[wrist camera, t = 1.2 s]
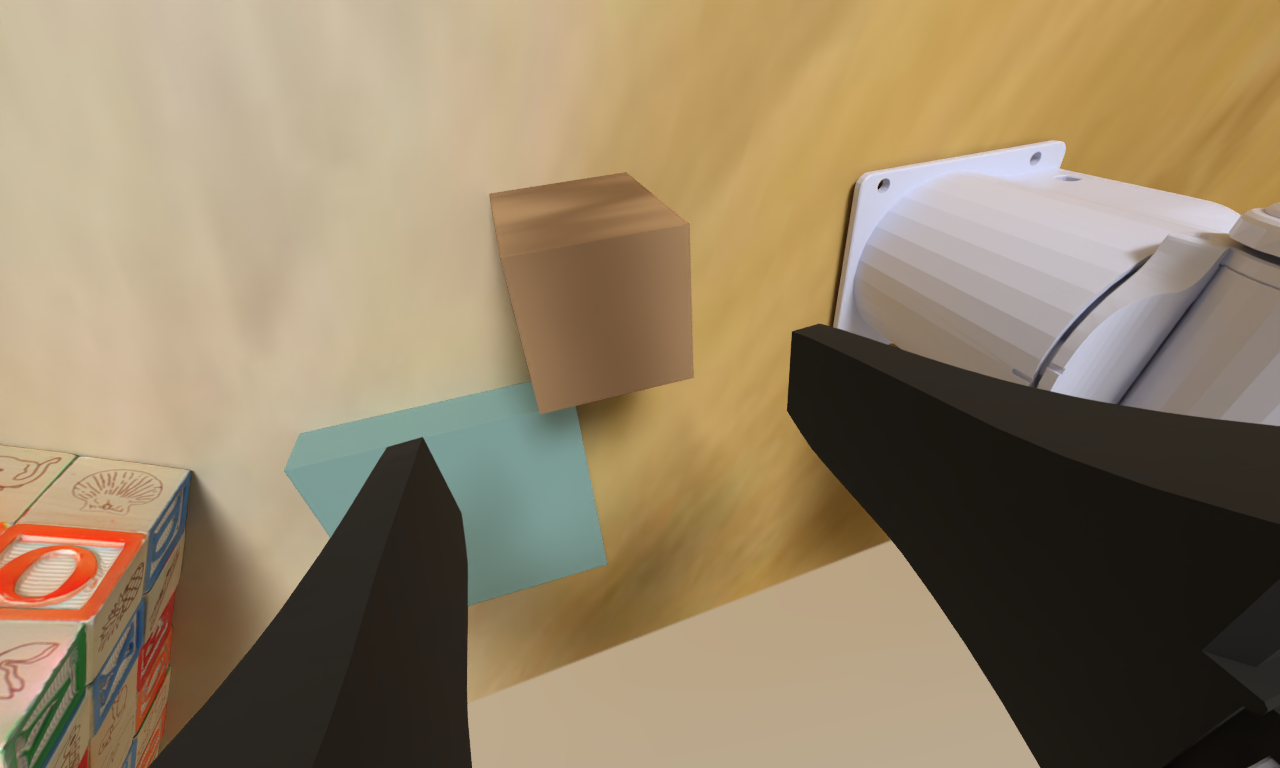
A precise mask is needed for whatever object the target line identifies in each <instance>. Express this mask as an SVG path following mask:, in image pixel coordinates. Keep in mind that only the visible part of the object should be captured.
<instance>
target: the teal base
mask: <svg viewBox="0 0 1280 768" xmlns="http://www.w3.org/2000/svg"><path fill="white" fill-rule="evenodd" d="M420 437H423V438H424V440H425V442H426V444H427V446H428V448H429V450H430V452H431V454H432V456H433V458H434V460H435V462H436V464H437V466H438V467H439V469H440V471H441V473H442V475H443V477H444V479H445V481H446V483H447V485H448V487H449V489H450V491H451V493H452V495H453V497H454V499H455V501H456V503H457V505H458V507H459V509H460V511H461V513H462V519H463V526H464V534H465V542H466V551H467V560H468V606H470V605H473V604H476V603H480V602H483V601H486V600H490V599H493V598H496V597H500V596H503V595H506V594H510V593H513V592H517V591H520V590H523V589H527V588H530V587H533V586H537V585H540V584H543V583H547V582H550V581H553V580H557V579H560V578H563V577H567V576H570V575H574V574H577V573H580V572H584V571H587V570H590V569H594V568H597V567H600V566H604V565H607V559H606V554H605V549H604V544H603V539H602V534H601V529H600V524H599V519H598V514H597V510H596V505H595V500H594V495H593V490H592V485H591V480H590V475H589V470H588V465H587V460H586V455H585V450H584V445H583V440H582V435H581V430H580V425H579V420H578V415H577V410H576V406H573V407H569V408H565V409H560V410H556V411H552V412H548V413H544V414H540V413H539V409H538V405H537V401H536V397H535V393H534V389H533V385H532V381H529V382H525V383H521V384H516V385H512V386H507V387H503V388H499V389H494V390H490V391H485V392H481V393H477V394H472V395H468V396H463V397H459V398H455V399H450V400H446V401H441V402H437V403H433V404H428V405H424V406H419V407H415V408H411V409H406V410H402V411H397V412H393V413H389V414H384V415H380V416H375V417H371V418H367V419H362V420H358V421H353V422H349V423H345V424H340V425H336V426H331V427H327V428H323V429H318V430H314V431H309V432H305V433H301V434H299V437H298V439H297V441H296V444H295V446H294V448H293V451H292V453H291V456H290V458H289V460H288V463H287V465H286V467H285V470H284V471H285V473H286V474H287V476H288V477H289V479H290V480H291V481H292V483H293V484H294V486H295V487H296V489H297V490H298V492H299V493H300V495H301V496H302V497H303V499H304V500H305V502H306V503H307V505H308V506H309V508H310V509H311V510H312V512H313V513H314V515H315V516H316V518H317V519H318V521H319V522H320V523H321V525H322V526H323V528H324V529H325V531H326V532H327V534H328V535H329V537H330V538H331V536H332V535H333V533H334V531H335V530H336V528H337V527H338V525H339V524H340V522H341V520H342V519H343V517H344V516H345V514H346V513H347V511H348V509H349V508H350V506H351V504H352V503H353V501H354V500H355V498H356V496H357V495H358V493H359V491H360V490H361V488H362V487H363V485H364V483H365V482H366V480H367V478H368V477H369V475H370V473H371V472H372V470H373V469H374V467H375V465H376V464H377V462H378V460H379V459H380V457H381V456H382V454H383V453H384V451H385V449H386V448H387V447H389V446H392V445H396V444H399V443H403V442H406V441H410V440H413V439H417V438H420Z"/></svg>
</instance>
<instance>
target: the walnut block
mask: <svg viewBox="0 0 1280 768" xmlns="http://www.w3.org/2000/svg"><path fill="white" fill-rule="evenodd" d="M490 200H491V206H492V212H493V218H494V224H495V230H496V236H497V242H498V248H499V254H500V259H501V263H502V267H503V271H504V275H505V279H506V283H507V287H508V291H509V295H510V299H511V303H512V306H513V310H514V314H515V318H516V322H517V326H518V330H519V334H520V338H521V342H522V346H523V350H524V354H525V358H526V362H527V366H528V370H529V373H530V377H531V381H532V385H533V389H534V393H535V397H536V401H537V405H538V409H539V413H540V414H544V413H548V412H552V411H556V410H560V409H565V408H569V407H573V406H577V405H581V404H586V403H590V402H594V401H598V400H602V399H607V398H611V397H615V396H619V395H623V394H628V393H632V392H636V391H640V390H644V389H649V388H653V387H657V386H661V385H665V384H670V383H674V382H678V381H682V380H686V379H691V378H694V377H693V339H692V302H691V265H690V228H689V223H688V222H686V221H685V220H684V219H683V218H681V217H680V216H679V215H678V214H677V213H675V212H674V211H673V210H672V209H670V208H669V207H668V206H667V205H665V204H664V203H663V202H662V201H661V200H659V199H658V198H657V197H656V196H654V195H653V194H652V193H651V192H650V191H648V190H647V189H646V188H645V187H643V186H642V185H641V184H640V183H638V182H637V181H636V180H635V179H634V178H632V177H631V176H630V175H629V174H627V173H626V172H625V173H619V174H613V175H606V176H600V177H593V178H587V179H581V180H574V181H568V182H561V183H555V184H549V185H542V186H536V187H530V188H523V189H517V190H510V191H504V192H498V193H491V194H490Z"/></svg>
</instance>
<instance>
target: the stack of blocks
mask: <svg viewBox="0 0 1280 768" xmlns="http://www.w3.org/2000/svg"><path fill="white" fill-rule="evenodd" d="M190 480H191V471H190V470H185V469H179V468H171V467H164V466H156V465H149V464H142V463H134V462H126V461H118V460H109V459H101V458H93V457H78V456H76V455H73V454H69V453H62V452H53V451H44V450H36V449H28V448H19V447H12V446H5V445H0V768H148V767H149V765H150V764H151V763H152V762H153V761H154V760H155V759H156V758H157V757H158V751H159V744H160V740H161V738H162V735H163V729H164V721H165V713H166V706H167V703H166V702H167V698H168V693H169V685H170V676H171V666H170V665H168V661H169V659H170V647H171V638H172V630H173V627H172V626H171V622H172V615H173V608H174V596H175V588H176V586H177V584H178V582H179V580H180V575H181V567H182V559H183V551H184V543H185V529H184V527H185V522H186V516H187V508H188V497H189V489H190Z"/></svg>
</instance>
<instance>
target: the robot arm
mask: <svg viewBox="0 0 1280 768" xmlns="http://www.w3.org/2000/svg"><path fill="white" fill-rule="evenodd" d="M1065 151H1066V146H1065V143H1064V142H1061V141H1055V140H1051V141H1046V142H1040V143H1034V144H1028V145H1022V146H1016V147H1011V148H1005V149H999V150H993V151H987V152H982V153H976V154H970V155H964V156H958V157H952V158H947V159H941V160H935V161H929V162H923V163H918V164H912V165H906V166H900V167H894V168H888V169H883V170H877V171H871V172H867V173H865V174H863V175H862V176H861V177H860V178H859V179H858V181H857V182H856V185H855V190H854V196H853V202H852V209H851V215H850V222H849V228H848V234H847V241H846V247H845V254H844V260H843V266H842V273H841V279H840V286H839V292H838V299H837V305H836V311H835V318H834V324H833V327H831V326H827V325H823V324H817V325H813V326H810V327H806V328H803V329H799V330H796V331H792V341H791V357H790V372H789V388H788V404H787V411H788V413H789V415H790V416H791V418H792V419H793V421H794V423H795V424H796V426H797V427H798V429H799V431H800V432H801V434H802V435H803V437H804V438H805V439H806V441H807V442H808V444H809V445H810V447H811V448H812V450H813V451H814V452H815V453H816V454H817V456H818V457H819V458H820V459H821V460H822V461H823V463H824V464H825V465H826V466H827V467H828V468H829V469H830V471H831V472H832V473H833V474H834V475H835V476H836V478H837V479H838V480H839V481H840V482H841V483H842V484H843V485H844V487H845V488H846V489H847V490H848V491H849V492H850V493H851V494H852V496H853V497H854V498H855V499H856V500H857V501H858V502H859V504H860V505H861V506H862V507H863V508H864V509H865V510H866V511H867V513H868V514H869V515H870V516H871V517H872V518H873V519H874V520H875V522H876V523H877V524H878V525H879V526H880V527H881V528H882V529H883V531H884V532H885V533H886V534H887V535H888V537H889V538H890V539H891V540H892V541H893V543H894V544H895V545H896V546H897V548H898V549H899V550H900V551H901V553H902V554H903V555H904V557H905V558H906V559H907V561H908V562H909V563H910V565H911V566H912V568H913V569H914V571H915V572H916V573H917V575H918V576H919V578H920V579H921V580H922V582H923V583H924V584H925V586H926V587H927V589H928V590H929V591H930V593H931V594H932V596H933V597H934V599H935V600H936V601H937V603H938V604H939V606H940V607H941V609H942V610H943V612H944V613H945V615H946V616H947V618H948V619H949V621H950V622H951V624H952V625H953V627H954V628H955V630H956V631H957V632H958V634H959V635H960V637H961V638H962V640H963V641H964V643H965V644H966V646H967V647H968V649H969V651H970V652H971V654H972V655H973V657H974V659H975V660H976V661H977V663H978V665H979V666H980V668H981V670H982V671H983V673H984V674H985V676H986V677H987V679H988V681H989V682H990V684H991V685H992V687H993V689H994V690H995V691H996V693H997V695H998V696H999V698H1000V700H1001V701H1002V703H1003V705H1004V706H1005V708H1006V710H1007V711H1008V713H1009V715H1010V716H1011V718H1012V720H1013V721H1014V723H1015V725H1016V727H1017V728H1018V730H1019V732H1020V734H1021V735H1022V737H1023V739H1024V740H1025V742H1026V744H1027V745H1028V747H1029V749H1030V750H1031V752H1032V754H1033V755H1034V757H1035V759H1036V761H1037V762H1038V764H1039V766H1040V768H1280V202H1277V203H1274V204H1271V205H1269V206H1268V207H1267V208H1255V209H1251V210H1248V211H1246V212H1244V213H1243V214H1242V215H1240V214H1238V213H1237V212H1235V211H1233V210H1232V209H1230V208H1228V207H1225V206H1223V205H1221V204H1218V203H1215V202H1211V201H1207V200H1203V199H1198V198H1194V197H1189V196H1184V195H1180V194H1175V193H1170V192H1166V191H1161V190H1156V189H1152V188H1147V187H1142V186H1138V185H1133V184H1128V183H1124V182H1119V181H1115V180H1110V179H1105V178H1101V177H1096V176H1091V175H1087V174H1082V173H1077V172H1073V171H1068V170H1063V169H1059V168H1060V165H1061V162H1062V160H1063V157H1064V154H1065ZM881 180H883V184H882V186H881V187H880V188H879V189H878V185H879V183H880V181H881ZM892 343H893V344H895V345H896V346H898V347H899V348H900V349H899V348H896V347H893V346H890V345H888V344H892ZM467 634H468V560H467V551H466V542H465V534H464V526H463V519H462V513H461V511H460V509H459V507H458V505H457V503H456V501H455V499H454V497H453V495H452V493H451V491H450V489H449V487H448V485H447V483H446V481H445V479H444V477H443V475H442V473H441V471H440V469H439V467H438V466H437V464H436V462H435V460H434V458H433V456H432V454H431V452H430V450H429V448H428V446H427V444H426V442H425V440H424V438H423V437H420V438H417V439H413V440H410V441H406V442H403V443H399V444H396V445H392V446H389V447H387V448H386V449H385V451H384V453H383V454H382V456H381V457H380V459H379V460H378V462H377V464H376V465H375V467H374V469H373V470H372V472H371V473H370V475H369V477H368V478H367V480H366V482H365V483H364V485H363V487H362V488H361V490H360V491H359V493H358V495H357V496H356V498H355V500H354V501H353V503H352V504H351V506H350V508H349V509H348V511H347V513H346V514H345V516H344V517H343V519H342V520H341V522H340V524H339V525H338V527H337V528H336V530H335V531H334V533H333V535H332V536H331V538H330V539H329V541H328V542H327V544H326V545H325V547H324V549H323V550H322V552H321V553H320V555H319V556H318V557H317V559H316V560H315V562H314V563H313V565H312V566H311V567H310V569H309V570H308V572H307V573H306V575H305V576H304V577H303V579H302V580H301V582H300V583H299V585H298V586H297V587H296V589H295V590H294V592H293V593H292V594H291V596H290V597H289V599H288V600H287V602H286V603H285V604H284V606H283V607H282V609H281V610H280V611H279V613H278V614H277V615H276V617H275V618H274V619H273V621H272V622H271V623H270V625H269V626H268V627H267V629H266V630H265V631H264V632H263V634H262V635H261V636H260V638H259V639H258V640H257V641H256V643H255V644H254V645H253V647H252V648H251V649H250V650H249V651H248V653H247V654H246V655H245V656H244V658H243V659H242V660H241V661H240V662H239V664H238V665H237V666H236V667H235V669H234V670H233V671H232V672H231V673H230V675H229V676H228V677H227V678H226V680H225V681H224V682H223V683H222V684H221V686H220V687H219V688H218V689H217V690H216V692H215V693H214V694H213V695H212V696H211V697H210V699H209V700H208V701H207V702H206V703H205V705H204V706H203V707H202V708H201V709H200V710H199V711H198V712H197V713H196V714H195V716H194V717H193V718H192V719H191V720H190V721H189V722H188V723H187V724H186V726H185V727H184V728H183V729H182V730H181V731H180V732H179V733H178V734H177V736H176V737H175V738H174V739H173V740H172V741H171V742H170V743H169V744H168V745H167V747H166V748H165V749H164V750H163V751H162V752H161V753H160V754H159V755H158V757H157V758H156V759H155V760H154V761H153V762H152V763H151V764H150V765H149V767H148V768H472V762H471V752H470V739H469V728H468V712H467Z"/></svg>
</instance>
